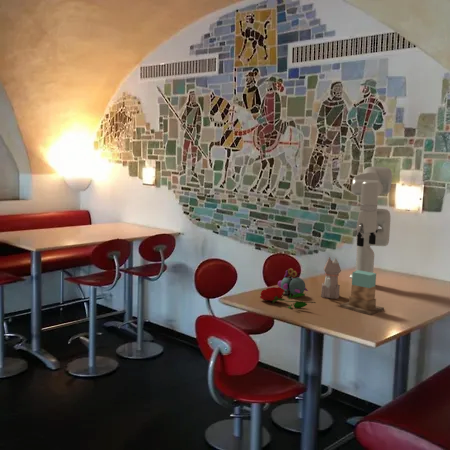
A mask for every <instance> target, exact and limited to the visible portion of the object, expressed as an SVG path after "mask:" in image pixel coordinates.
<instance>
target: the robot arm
mask: <svg viewBox="0 0 450 450" xmlns="http://www.w3.org/2000/svg"><path fill="white" fill-rule="evenodd" d="M392 182H393V173H392V170H391V168H390V167H388V166H368V167H365V168H364V169H363V170H362V173H361V174H358V175H354V177H353V179H352V181H351V185H350V190H351V193H352V194H353V195H354V196H359V197H360V206H359V213H358V215H357V221H356V228H355V229H354V230H355V238H356V261H355V271H358V270H360V271H366V272H371V273H374V265H375V251H374V250H373V249H372V247H373V246H374V247H387V246H388V245H389V242H390V235H391V234H390V233H391V232H390V231H391V213H390V211H389V210H388V209H387V208H378V200H379V196H380V195H386V194H387V195H388V194H389V193H390V192H391V190H392ZM371 246H372V247H371ZM349 279H352V274H351V273H350V275H349Z"/></svg>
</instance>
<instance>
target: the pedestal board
mask: <svg viewBox="0 0 450 450" xmlns="http://www.w3.org/2000/svg"><path fill="white" fill-rule="evenodd" d="M376 303H377V298H375V299H372V300H369V301H366V300H362V299H358V298H354V297H351V295H350V296H349V298H348V301H347V302H344V303H340V308H343V309H346V310H350V311H353V310H354V312H357V311H358V313H362V314H364V315H367V316H368V315H369V316H370V315H374V314H377V313H379V311H380V312H382V310H383V311H384V310H385V307H383V306H379V305H376Z"/></svg>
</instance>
